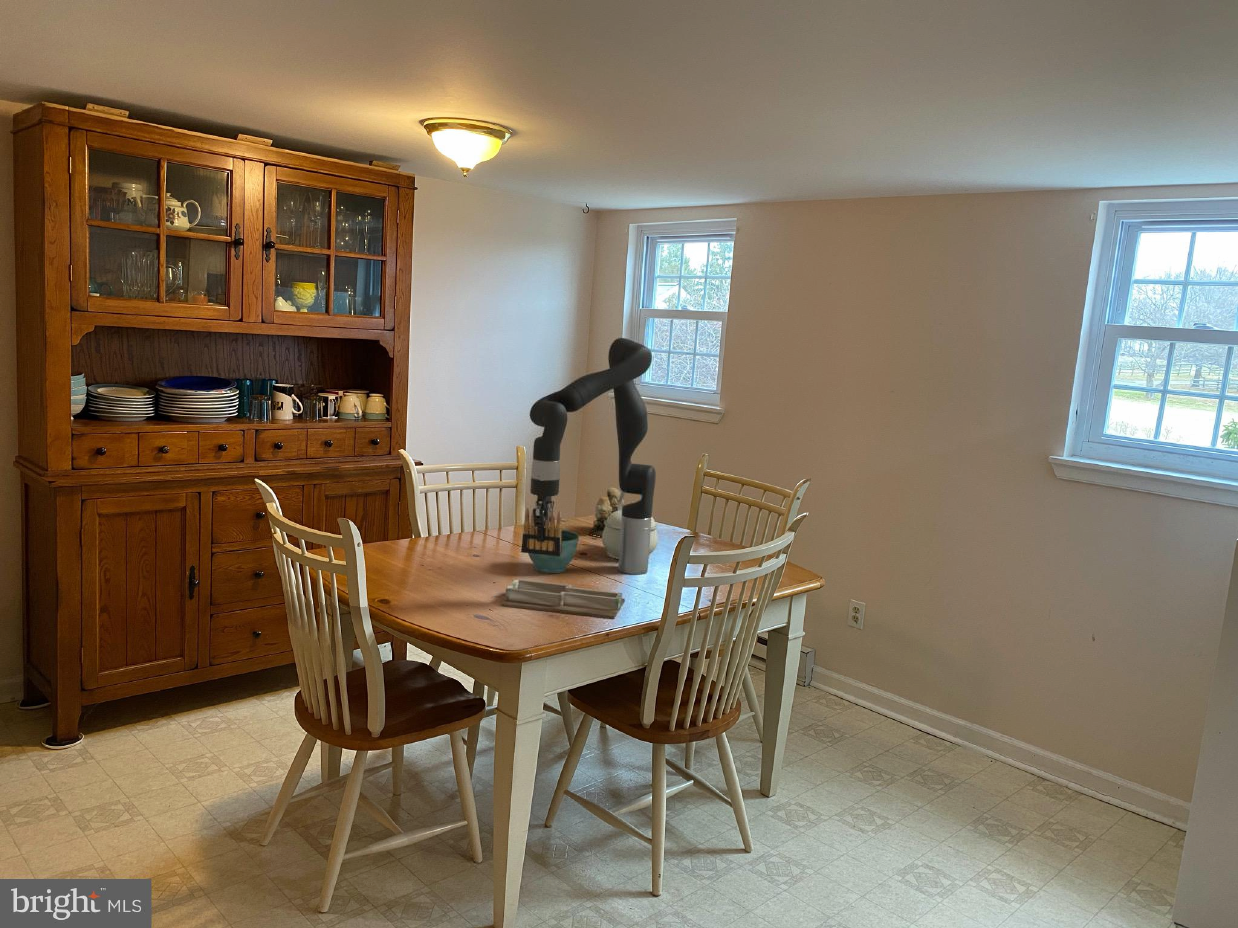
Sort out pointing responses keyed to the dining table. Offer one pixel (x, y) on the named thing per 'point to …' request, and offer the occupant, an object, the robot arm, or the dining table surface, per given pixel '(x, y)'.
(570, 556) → the flower pot
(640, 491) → the robot arm
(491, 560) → the dining table surface
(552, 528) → the ammunition clip
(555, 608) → the shallow open tray
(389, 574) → the dining table surface
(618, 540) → the kettle
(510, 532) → the dining table surface
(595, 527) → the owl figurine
